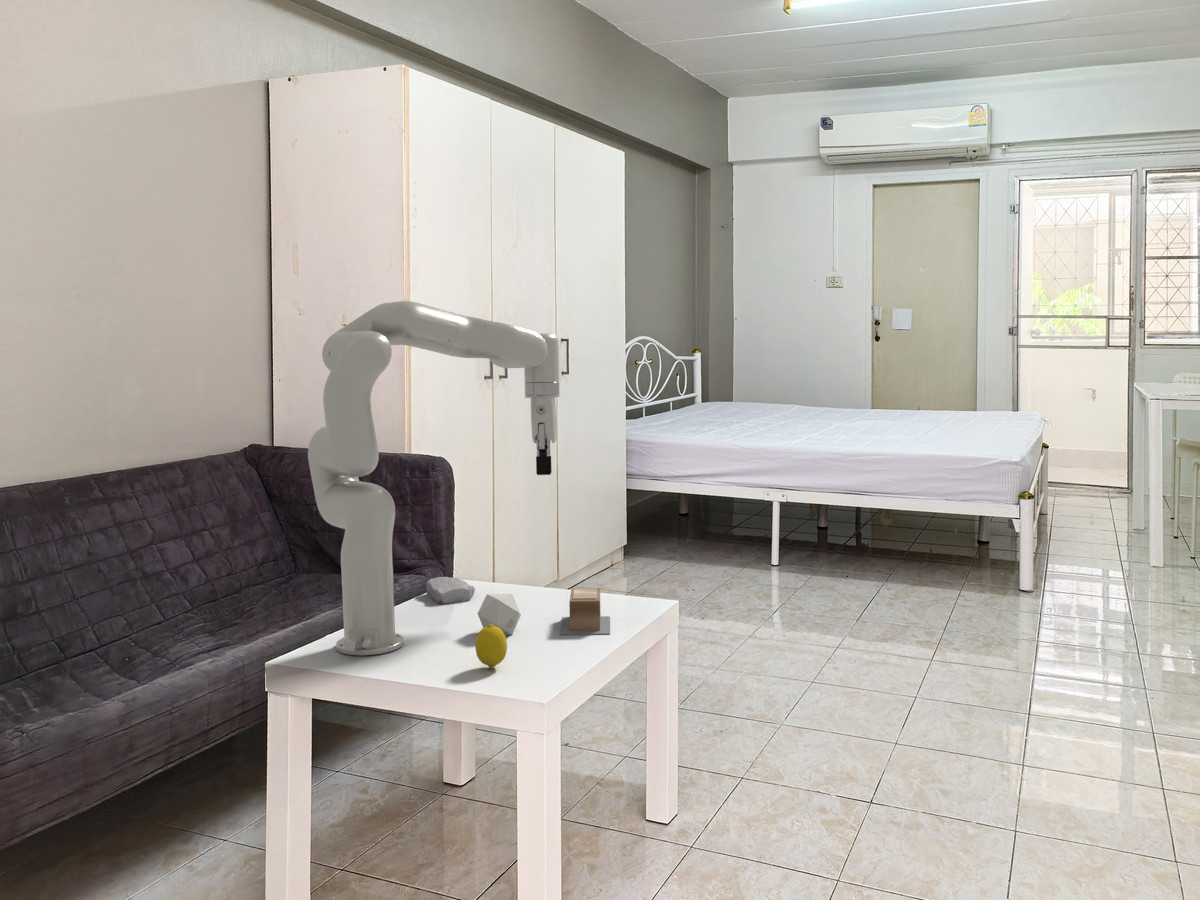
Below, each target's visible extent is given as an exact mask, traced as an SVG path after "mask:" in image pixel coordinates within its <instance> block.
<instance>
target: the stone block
mask: <svg viewBox="0 0 1200 900" xmlns="http://www.w3.org/2000/svg"><path fill="white" fill-rule="evenodd" d="M425 586H426V587H425V589H426V595H427V596H428V597H429V598H431V599H432V600H433V601H435V602H436V603H437V604H439V605H447V604H448V605H449V604H455V603H463V602H469V601H471V599H472V598H473V597H474V595H475V592H476V588H475V587H474V585H470V584H468V582H466V581H465V580H463V579H461V578H457V577H449V576H437V577H433V578H430V579H428V580H427V581H426V583H425Z"/></svg>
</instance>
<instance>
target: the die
mask: <svg viewBox="0 0 1200 900" xmlns="http://www.w3.org/2000/svg"><path fill="white" fill-rule="evenodd" d="M479 607H480V608H479V610H478V612H477V615H478V619H479V621H480V623H481V626H482V627H483V628H484V627H487V626H488V625H489V624H493V625H494V626H496V627H498V628H500V629H501V630H502V631H503V633H504V635H505V636H513V634H514V631H515V629H516V627H517V625H518V623H519V621H520V618H521V616H522V615H521V612H520V610H519V609H520V608H519V607H518V604H517V602H516V600H515V597H514V594H513V593H487V594H486V595H485V597H484V600H482V603H481V605H480V606H479ZM483 628H482V629H483Z"/></svg>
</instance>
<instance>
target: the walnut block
mask: <svg viewBox="0 0 1200 900" xmlns="http://www.w3.org/2000/svg"><path fill="white" fill-rule="evenodd" d="M568 603H569V605H568V607H569V617H570V631H600V616H601V587H572V588H571V590H570V597H569V601H568Z"/></svg>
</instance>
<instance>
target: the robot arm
mask: <svg viewBox="0 0 1200 900" xmlns="http://www.w3.org/2000/svg"><path fill="white" fill-rule="evenodd" d="M392 346H408V347H412V348H417V349H420V350H421V349H422V350H426V351H430V352H434V353H438V354H442V355H446V356H451V357H455V358H461V359H462V358H463V359H489V361H490V362H491V363H492V364H493V365H495V366H496V367H499V368H503V369H523V370H524V398H526V399H530V424H531V425H530V426H531V437H532V438H531V439H532V442H533V443H534V444H535V445H536V456H535V464H536V465H535V467H536V469H535V470H536V471H535V472H536V475H537V476H550V475H551V474H552V472H553V471H552V455H551V443H552V444H554V443H555V442H556V441H557V439H558V435H557V434H558V433H557V406H556V398H560V396H561V395H560V357H559V356H560V354H559V353H560V351H559V348H560V347H559V338H558V336H557V335H556V334H554V333H542V332H541V333H538V332H536V331H534V330H531V329H527V328H524V327H520V326H517V325H513V324H509V323H504V322H498V321H494V320H487V319H483V318H479V317H475V316H470V315H469V316H468V315H464V314H461V313H455V312H452V311H448V310H444V309H441V308H438V307H434V306H430V305H427V304H424V303H420V302H417V301H416V302H414V301H409V300H400V301H390V302H383V303H381V304H378V305H376V306H374V307H373V308H371V309H369V310H368V311H366V312H365V313H363V314H362V315H360V316H358V317H357V318H356V319H354V320H353V321H351V322H350V323H348V324H346V325H345V326H343V327H342V328H340V329H338V330H337V331H335V332H333V334H331V335H330V336H329V337H328V338H327V339H326V341H325V343H324V344H323V347H322V351H321V355H322V356H321V359H322V361H323V363H324V366H325V367H326V368H327V370H328V371H330V372H329V374H328V376H327V379H326V381H325V384H324V388H323V395H322V397H323V399H322V403H323V404H322V405H323V411H324V413H323V414H324V421H325V426H322V427H321V428H319V429H317V430H316V431H315V433H314V434H313V435H312V437H311V438H310V441H309V444H308V448H307V449H308V451H307V460H308V466H309V471H310V477H311V482H312V487H313V491H314V493H313V494H314V497H315V502H316V506H317V509H318V511H319V514H320V516H321V517H322V519H323V520H324V521H325V522H326V523H328V524H329V525H331V526H333V527H335V528H336V527H337V528H340V529H344V535H343V540H342V543H341V549H340V569H341V589H342V590H341V591H342V592H341V593H342V615H343V635H344V636H343V637H342V638H339V639H338V640H337V641H336V644H335V646H336V650H337V651H338V652H339V653H341V654H343V655H349V656H374V655H380V654H386V653H389V652H393V651H396V650H398V649H399V648H401V647H403V645H404V643H405V642H404V641H405V640H404V636H403V635H402V634H400V633H397V632H396V622H395V621H396V620H395V597H394V596H395V595H394V593H395V592H394V589H395V588H394V564H393V535H394V534H393V533H394V526H395V520H396V505H395V501H394V499H393V497H392V495H391V493H390V492H389V491H388V490H386V489H385V488H384V487H383V486H380V485H379V484H376V483H372V482H367V481H361V480H360V479H359V477H364V476H367V475H370V474H372V472H374V470H375V469H376V468H377V466H378V463H379V458H380V457H379V446H378V440H377V434H376V430H375V424H374V419H373V414H372V404H371V401H372V400H371V397H372V392H373V387H374V385H375V383H377V382H376V381H377V379H378V378H379V377H380V376H381V375H382V373H384V371H385V370H386V369H387V368H388V366H389V364H390V362H391V358H392V355H393V353H392V350H393V349H392Z"/></svg>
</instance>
